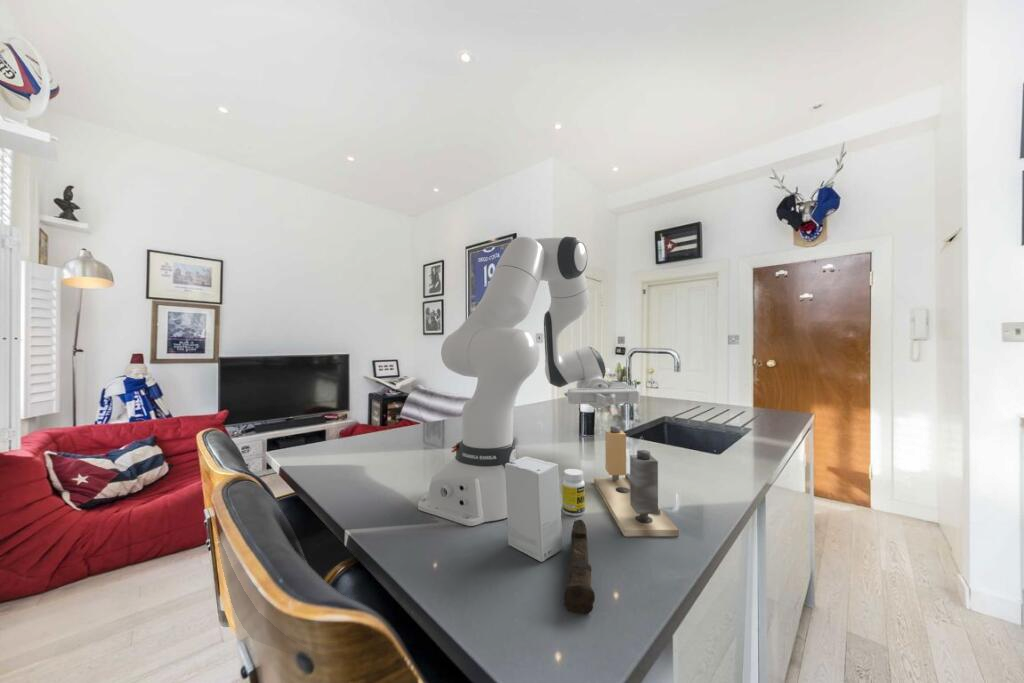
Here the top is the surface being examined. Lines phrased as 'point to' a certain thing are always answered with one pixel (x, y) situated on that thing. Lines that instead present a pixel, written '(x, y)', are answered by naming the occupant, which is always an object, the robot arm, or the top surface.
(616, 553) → the top surface
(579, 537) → the hand tool
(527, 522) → the skincare box
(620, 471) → the block
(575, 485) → the supplement bottle
